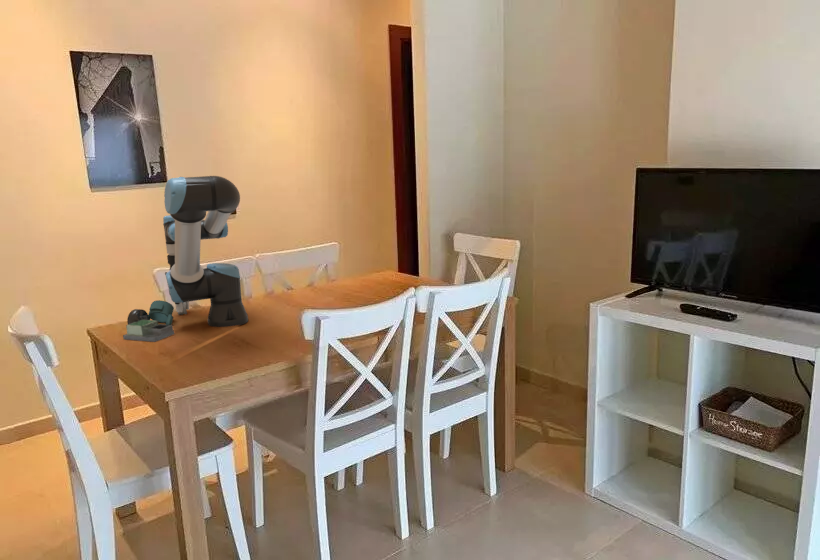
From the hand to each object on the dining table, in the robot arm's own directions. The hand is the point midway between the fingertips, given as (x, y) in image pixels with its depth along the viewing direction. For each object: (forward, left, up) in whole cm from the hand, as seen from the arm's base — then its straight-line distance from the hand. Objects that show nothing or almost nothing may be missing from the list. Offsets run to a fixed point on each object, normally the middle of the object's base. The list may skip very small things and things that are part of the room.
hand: (183, 310), depth 261 cm
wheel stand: (0, +25, -2) cm, 25 cm away
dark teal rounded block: (0, +9, 0) cm, 9 cm away
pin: (0, 0, -2) cm, 2 cm away
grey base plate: (-9, +30, -2) cm, 31 cm away
